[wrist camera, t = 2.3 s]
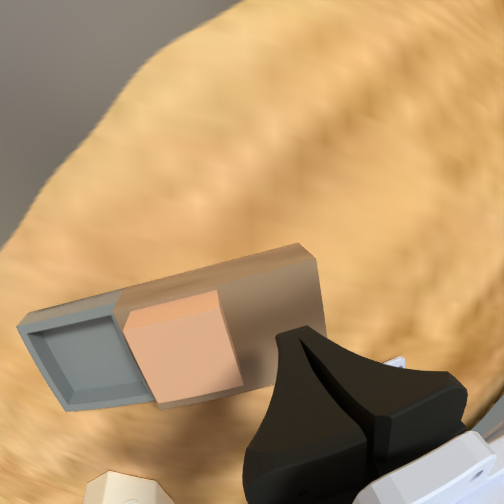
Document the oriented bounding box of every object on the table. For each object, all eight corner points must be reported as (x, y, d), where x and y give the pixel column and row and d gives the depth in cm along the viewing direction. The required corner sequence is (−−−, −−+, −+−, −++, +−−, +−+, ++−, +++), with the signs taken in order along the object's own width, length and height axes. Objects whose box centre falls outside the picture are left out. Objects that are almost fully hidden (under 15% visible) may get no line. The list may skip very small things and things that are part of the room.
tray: (163, 380, 20) (161, 399, 18) (73, 394, 19) (65, 411, 17) (124, 288, 18) (116, 302, 16) (29, 312, 17) (16, 326, 15)
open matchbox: (314, 341, 21) (330, 366, 18) (163, 380, 20) (160, 410, 17) (298, 242, 19) (315, 258, 16) (124, 288, 18) (112, 310, 15)
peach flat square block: (238, 362, 17) (243, 385, 15) (161, 380, 17) (158, 403, 15) (216, 289, 16) (219, 307, 14) (130, 311, 15) (122, 330, 13)
